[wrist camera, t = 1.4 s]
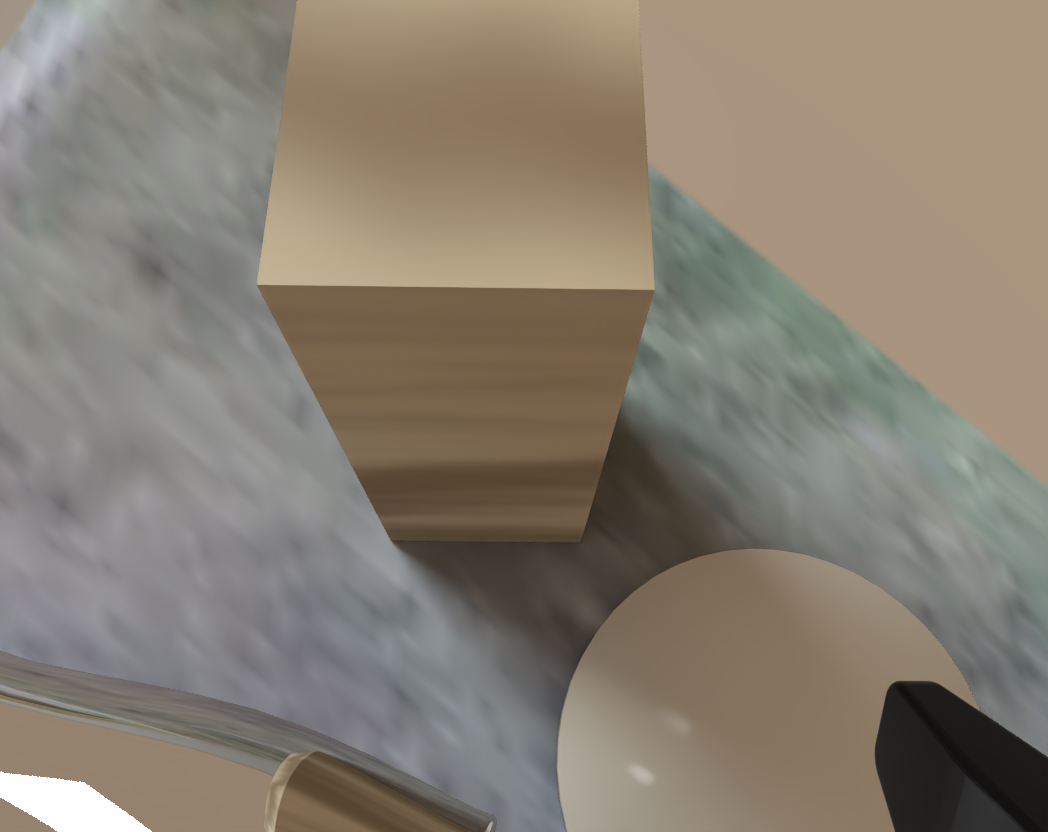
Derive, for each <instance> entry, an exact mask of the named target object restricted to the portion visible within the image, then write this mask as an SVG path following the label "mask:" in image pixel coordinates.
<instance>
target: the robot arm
mask: <svg viewBox="0 0 1048 832" xmlns="http://www.w3.org/2000/svg"><path fill="white" fill-rule="evenodd" d="M875 765H876V770H877V774H878V777H879V781H880V784H881V787H882V791H883V794H884V797H885V801H886V804H887V807H888V811H889V814H890V817H891V821H892V824H893V827H894V830H895V832H1048V757H1047V756H1045V755H1044V754H1042V753H1041V752H1039V751H1038V750H1036V749H1035V748H1033V747H1032V746H1031V745H1029V744H1028V743H1026V742H1025V741H1023V740H1022V739H1020V738H1019V737H1017V736H1016V735H1014V734H1013V733H1011V732H1010V731H1008V730H1007V729H1005V728H1004V727H1002V726H1001V725H999V724H998V723H997V722H995V721H994V720H992V719H991V718H989V717H988V716H986V715H985V714H983V713H982V712H980V711H979V710H977V709H976V708H974V707H973V706H971V705H970V704H968V703H967V702H965V701H964V700H962V699H961V698H960V697H958V696H957V695H955V694H954V693H952V692H951V691H949V690H948V689H946V688H945V687H943V686H942V685H940V684H938V683H936V682H932V681H896V682H894V683H892V684H891V685H890V687H889V688H888V690H887V693H886V696H885V701H884V706H883V710H882V715H881V720H880V724H879V729H878V734H877V738H876V743H875Z"/></svg>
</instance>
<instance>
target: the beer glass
mask: <svg viewBox="0 0 1048 832" xmlns="http://www.w3.org/2000/svg"><path fill="white" fill-rule="evenodd" d="M496 825H497V818H496V816H495V815H493V814H488V813H485V812H483V811H481V810H478V809H476V808H474V807H472V806H470V805H468V804H466V803H464V802H462V801H460V800H458V799H456V798H454V797H452V796H450V795H448V794H446V793H444V792H442V791H440V790H438V789H436V788H435V787H433V786H431V785H429V784H427V783H425V782H423V781H421V780H419V779H417V778H416V777H414V776H412V775H410V774H408V773H406V772H404V771H402V770H399V769H397V768H395V767H393V766H391V765H389V764H387V763H385V762H383V761H381V760H379V759H377V758H375V757H373V756H371V755H369V754H367V753H365V752H363V751H360V750H358V749H356V748H353V747H351V746H349V745H347V744H344V743H342V742H340V741H338V740H335V739H333V738H331V737H328V736H326V735H324V734H322V733H319V732H317V731H315V730H312V729H309V728H306V727H304V726H301V725H298V724H295V723H293V722H290V721H287V720H284V719H281V718H279V717H276V716H273V715H270V714H268V713H265V712H262V711H259V710H256V709H253V708H249V707H245V706H241V705H237V704H233V703H229V702H226V701H222V700H218V699H214V698H210V697H206V696H202V695H198V694H194V693H190V692H185V691H180V690H175V689H170V688H165V687H160V686H155V685H150V684H145V683H140V682H135V681H130V680H124V679H119V678H114V677H108V676H103V675H97V674H92V673H87V672H81V671H76V670H72V669H67V668H62V667H58V666H53V665H48V664H44V663H39V662H35V661H30V660H27V659H24V658H21V657H18V656H15V655H12V654H9V653H5V652H2V651H0V832H495V830H496Z"/></svg>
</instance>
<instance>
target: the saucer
mask: <svg viewBox="0 0 1048 832" xmlns="http://www.w3.org/2000/svg"><path fill="white" fill-rule="evenodd" d="M896 681H932V682H936V683H938V684H940V685H942V686H943V687H945V688H946V689H948V690H949V691H951V692H952V693H954V694H955V695H957V696H958V697H960V698H961V699H962V700H964V701H965V702H967V703H968V704H970V705H971V706H973V707H974V708H976V709H977V710H979V708H978V705H977V702H976V700H975V698H974V696H973V694H972V693H971V691H970V689H969V687H968V685H967V683H966V681H965V679H964V677H963V676H962V674H961V672H960V671H959V669H958V668H957V666H956V665H955V663H954V662H953V660H952V659H951V657H950V656H949V654H948V653H947V651H946V650H945V649H944V647H943V646H942V645H941V644H940V643H939V641H938V640H937V639H936V638H935V637H934V636H933V634H932V633H931V632H930V631H929V630H928V629H927V627H926V626H925V625H924V624H923V623H922V622H921V621H920V620H919V619H917V618H916V617H915V616H914V615H913V614H912V613H911V612H910V611H909V610H908V609H907V608H906V607H905V606H904V605H902V604H901V603H900V602H898V601H897V600H896V599H894V598H893V597H892V596H890V595H889V594H888V593H886V592H885V591H884V590H882V589H881V588H880V587H878V586H876V585H874V584H873V583H871V582H869V581H868V580H866V579H864V578H863V577H861V576H859V575H857V574H856V573H853V572H851V571H849V570H847V569H844V568H842V567H840V566H838V565H835V564H833V563H831V562H827V561H824V560H821V559H818V558H814V557H811V556H808V555H805V554H799V553H793V552H788V551H782V550H771V549H741V550H728V551H722V552H718V553H713V554H709V555H704V556H700V557H697V558H695V559H692V560H689V561H686V562H684V563H681V564H678V565H676V566H674V567H672V568H670V569H668V570H666V571H664V572H662V573H661V574H659V575H657V576H655V577H653V578H652V579H651V580H649V581H648V582H646V583H645V584H644V585H642V586H641V587H639V588H638V589H637V590H635V591H634V592H633V593H631V594H630V595H629V596H628V597H627V598H626V599H625V600H624V601H623V602H622V603H621V604H620V605H619V606H618V607H617V608H616V609H615V610H614V611H613V612H612V613H611V614H610V616H609V617H608V618H607V619H606V621H605V622H604V623H603V625H602V626H601V627H600V628H599V630H598V631H597V632H596V634H595V636H594V637H593V639H592V641H591V642H590V644H589V646H588V647H587V649H586V651H585V652H584V654H583V656H582V657H581V659H580V661H579V663H578V665H577V668H576V670H575V672H574V675H573V677H572V679H571V681H570V684H569V686H568V690H567V693H566V697H565V700H564V704H563V707H562V711H561V716H560V722H559V729H558V735H557V749H556V776H557V787H558V798H559V803H560V808H561V813H562V817H563V822H564V827H565V830H566V832H895V830H894V827H893V824H892V821H891V817H890V814H889V811H888V807H887V804H886V801H885V797H884V794H883V791H882V787H881V784H880V781H879V777H878V774H877V770H876V765H875V743H876V738H877V734H878V729H879V724H880V720H881V715H882V710H883V706H884V701H885V696H886V693H887V690H888V688H889V687H890V685H891V684H892V683H894V682H896ZM979 711H980V710H979Z"/></svg>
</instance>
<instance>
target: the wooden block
mask: <svg viewBox="0 0 1048 832" xmlns="http://www.w3.org/2000/svg"><path fill="white" fill-rule="evenodd" d="M257 286H258V288H259V290H260V292H261V294H262V296H263V297H264V299H265V301H266V303H267V305H268V307H269V309H270V311H271V313H272V315H273V317H274V318H275V320H276V322H277V324H278V326H279V328H280V330H281V332H282V334H283V336H284V338H285V339H286V341H287V343H288V345H289V347H290V349H291V351H292V353H293V355H294V357H295V359H296V360H297V362H298V364H299V366H300V368H301V370H302V372H303V374H304V376H305V378H306V380H307V381H308V383H309V385H310V387H311V389H312V391H313V393H314V395H315V397H316V399H317V401H318V402H319V404H320V406H321V408H322V410H323V412H324V414H325V416H326V418H327V420H328V422H329V423H330V425H331V427H332V429H333V431H334V433H335V435H336V437H337V439H338V441H339V443H340V444H341V446H342V448H343V450H344V452H345V454H346V456H347V458H348V460H349V462H350V464H351V466H352V467H353V469H354V471H355V473H356V475H357V477H358V479H359V481H360V483H361V485H362V487H363V488H364V490H365V492H366V494H367V496H368V498H369V500H370V502H371V504H372V506H373V508H374V509H375V511H376V513H377V515H378V517H379V519H380V521H381V523H382V525H383V527H384V529H385V530H386V532H387V534H388V536H389V538H390V540H391V541H484V542H581V540H582V536H583V533H584V530H585V526H586V523H587V519H588V516H589V512H590V509H591V506H592V502H593V499H594V495H595V492H596V489H597V485H598V482H599V478H600V475H601V471H602V468H603V465H604V461H605V458H606V454H607V451H608V448H609V444H610V441H611V437H612V434H613V430H614V427H615V424H616V420H617V417H618V413H619V410H620V406H621V403H622V400H623V396H624V393H625V389H626V386H627V383H628V379H629V376H630V372H631V369H632V365H633V362H634V359H635V355H636V352H637V348H638V345H639V342H640V338H641V335H642V331H643V328H644V324H645V321H646V318H647V314H648V311H649V307H650V304H651V301H652V297H653V294H654V290H655V287H654V270H653V252H652V234H651V216H650V198H649V181H648V163H647V145H646V127H645V110H644V93H643V75H642V56H641V38H640V21H639V3H638V0H297V6H296V13H295V20H294V27H293V34H292V41H291V48H290V55H289V62H288V69H287V76H286V83H285V90H284V97H283V104H282V111H281V119H280V126H279V133H278V140H277V147H276V154H275V161H274V168H273V175H272V182H271V189H270V196H269V203H268V210H267V217H266V224H265V231H264V238H263V245H262V252H261V259H260V266H259V273H258V280H257Z"/></svg>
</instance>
